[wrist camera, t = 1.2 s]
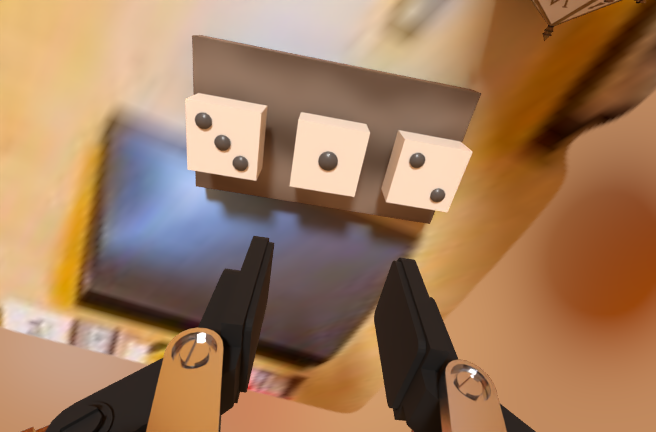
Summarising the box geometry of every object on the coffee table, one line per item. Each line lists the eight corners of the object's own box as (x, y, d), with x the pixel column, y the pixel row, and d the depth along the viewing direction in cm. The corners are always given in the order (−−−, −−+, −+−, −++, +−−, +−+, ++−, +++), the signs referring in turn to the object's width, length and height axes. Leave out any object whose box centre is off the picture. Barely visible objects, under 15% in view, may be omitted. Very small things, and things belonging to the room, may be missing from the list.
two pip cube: (398, 130, 25) (405, 140, 22) (460, 141, 25) (473, 152, 23) (381, 188, 27) (386, 202, 25) (438, 198, 27) (448, 213, 25)
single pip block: (301, 111, 24) (298, 120, 22) (366, 124, 24) (370, 133, 22) (292, 173, 26) (289, 187, 24) (352, 183, 27) (354, 197, 24)
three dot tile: (198, 93, 23) (184, 99, 21) (267, 105, 24) (260, 113, 21) (199, 158, 26) (186, 170, 23) (262, 168, 26) (255, 181, 24)
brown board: (201, 35, 25) (192, 35, 23) (471, 89, 27) (481, 93, 25) (203, 177, 31) (195, 186, 29) (424, 213, 33) (429, 223, 31)
